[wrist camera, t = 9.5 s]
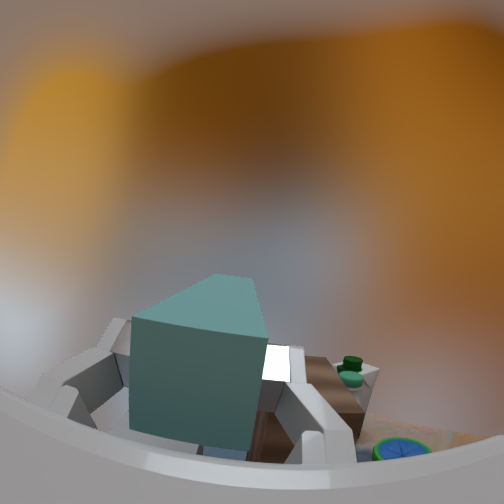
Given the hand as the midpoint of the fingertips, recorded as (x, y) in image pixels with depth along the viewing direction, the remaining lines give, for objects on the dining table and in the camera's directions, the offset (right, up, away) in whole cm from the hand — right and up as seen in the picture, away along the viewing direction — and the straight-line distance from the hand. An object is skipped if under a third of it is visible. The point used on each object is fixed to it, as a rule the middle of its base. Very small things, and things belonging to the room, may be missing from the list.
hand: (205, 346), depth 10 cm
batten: (0, -2, +8) cm, 8 cm away
